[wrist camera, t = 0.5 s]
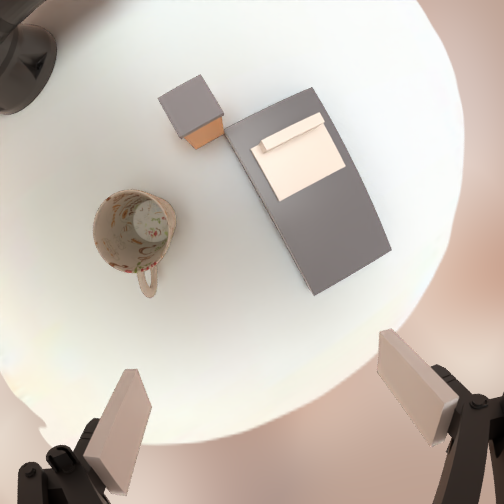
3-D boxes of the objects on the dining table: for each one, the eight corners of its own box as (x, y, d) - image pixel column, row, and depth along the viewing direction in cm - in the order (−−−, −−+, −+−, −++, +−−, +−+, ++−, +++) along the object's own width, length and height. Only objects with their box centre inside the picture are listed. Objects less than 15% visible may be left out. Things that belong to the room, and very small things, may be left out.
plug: (179, 122, 36) (157, 98, 25) (209, 105, 36) (200, 74, 24) (195, 151, 37) (179, 137, 26) (226, 134, 37) (223, 112, 25)
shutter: (250, 149, 35) (252, 144, 30) (316, 116, 34) (327, 108, 30) (278, 201, 36) (284, 203, 32) (343, 166, 36) (356, 164, 31)
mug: (180, 183, 38) (163, 182, 28) (194, 279, 41) (183, 308, 31) (119, 193, 38) (86, 197, 28) (136, 286, 40) (110, 315, 31)
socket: (224, 133, 37) (223, 129, 34) (306, 93, 36) (312, 87, 33) (308, 288, 42) (314, 295, 39) (382, 245, 41) (391, 250, 38)
